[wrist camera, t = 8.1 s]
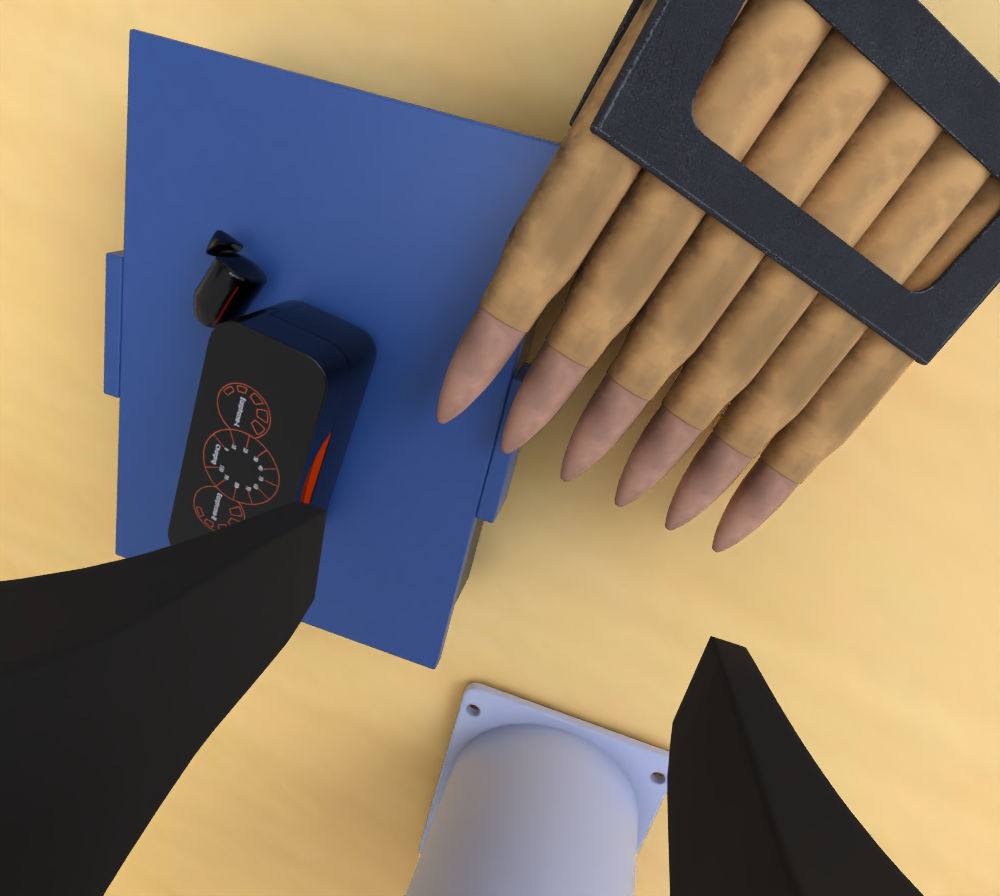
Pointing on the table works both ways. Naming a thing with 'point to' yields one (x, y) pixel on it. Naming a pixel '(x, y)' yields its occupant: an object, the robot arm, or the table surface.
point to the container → (322, 308)
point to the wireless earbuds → (265, 400)
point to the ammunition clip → (747, 241)
